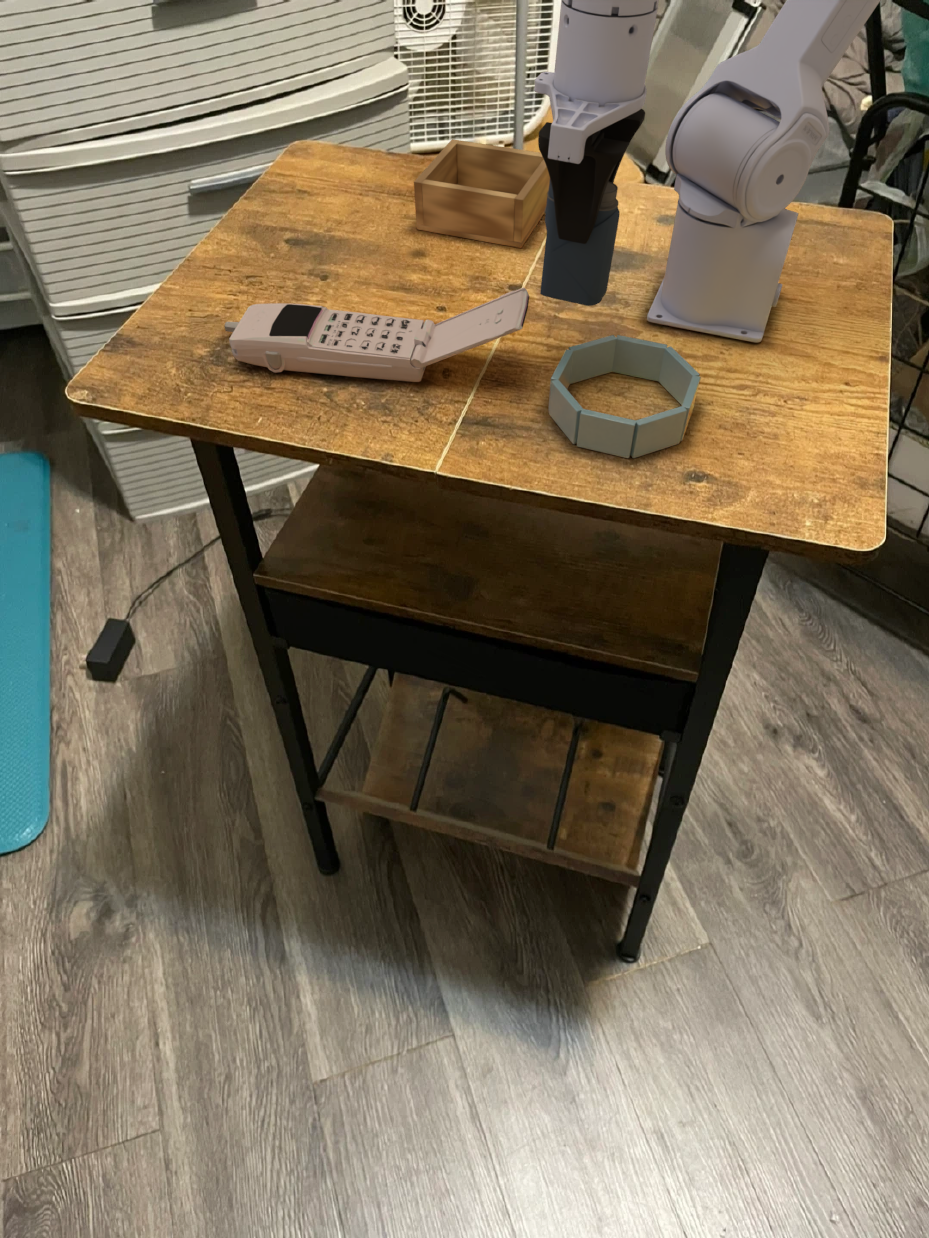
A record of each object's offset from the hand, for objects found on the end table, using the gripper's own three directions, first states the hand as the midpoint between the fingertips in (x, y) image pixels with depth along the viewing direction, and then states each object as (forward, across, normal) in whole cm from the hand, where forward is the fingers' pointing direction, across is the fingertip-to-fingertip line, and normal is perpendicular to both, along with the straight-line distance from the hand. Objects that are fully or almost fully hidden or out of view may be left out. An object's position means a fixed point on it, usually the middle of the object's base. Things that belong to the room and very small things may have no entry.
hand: (579, 230), depth 61 cm
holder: (+10, -20, -14) cm, 26 cm away
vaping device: (+5, 0, 0) cm, 5 cm away
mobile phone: (+11, +6, -14) cm, 19 cm away
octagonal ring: (+10, +5, +6) cm, 13 cm away
